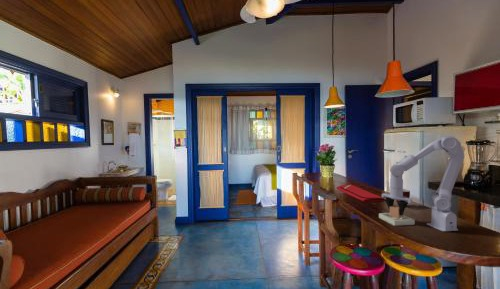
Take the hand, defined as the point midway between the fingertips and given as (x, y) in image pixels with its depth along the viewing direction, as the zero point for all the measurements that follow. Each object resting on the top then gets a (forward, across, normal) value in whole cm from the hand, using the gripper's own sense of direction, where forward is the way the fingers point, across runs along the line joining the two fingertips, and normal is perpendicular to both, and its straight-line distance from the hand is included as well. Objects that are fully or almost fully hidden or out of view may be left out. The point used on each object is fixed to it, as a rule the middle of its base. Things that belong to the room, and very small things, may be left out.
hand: (396, 213), depth 130 cm
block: (+2, 0, 0) cm, 2 cm away
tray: (+4, 0, 0) cm, 4 cm away
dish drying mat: (+5, +47, -36) cm, 60 cm away
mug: (+4, +12, -30) cm, 33 cm away
